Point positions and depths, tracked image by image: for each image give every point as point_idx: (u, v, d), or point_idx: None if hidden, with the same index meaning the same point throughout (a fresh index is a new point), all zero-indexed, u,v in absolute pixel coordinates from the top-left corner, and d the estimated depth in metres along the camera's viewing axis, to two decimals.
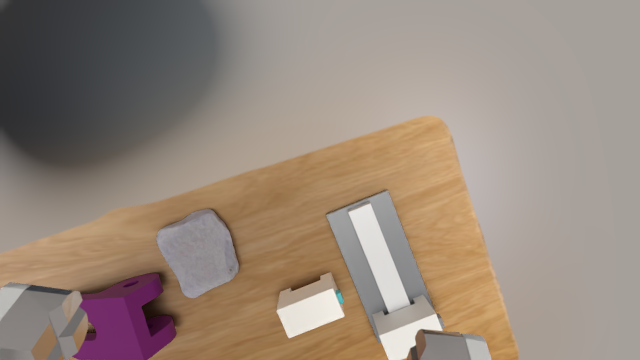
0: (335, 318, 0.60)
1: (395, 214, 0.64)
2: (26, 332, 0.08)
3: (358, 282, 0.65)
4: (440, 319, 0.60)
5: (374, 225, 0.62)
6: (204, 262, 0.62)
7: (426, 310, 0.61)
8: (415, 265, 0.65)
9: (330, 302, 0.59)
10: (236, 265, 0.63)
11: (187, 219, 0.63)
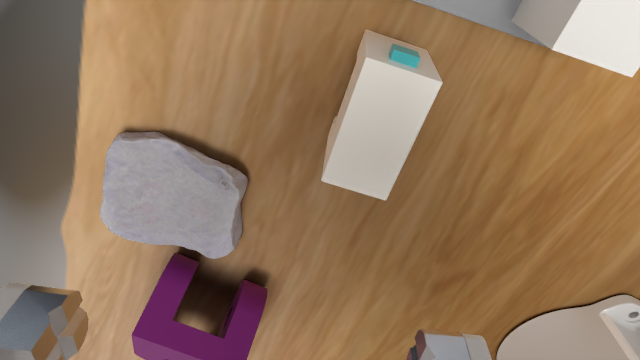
0: (429, 102, 0.24)
1: None
2: (26, 332, 0.08)
3: None
4: None
5: None
6: (184, 206, 0.34)
7: None
8: None
9: (390, 85, 0.24)
10: (222, 171, 0.33)
11: None
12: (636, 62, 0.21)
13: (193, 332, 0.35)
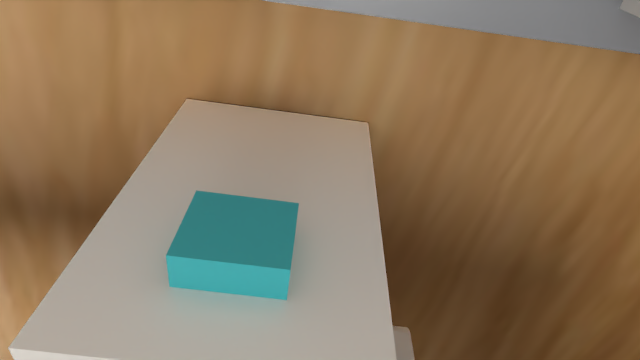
0: None
1: None
2: None
3: None
4: None
5: None
6: None
7: None
8: None
9: None
10: None
11: None
12: None
13: None
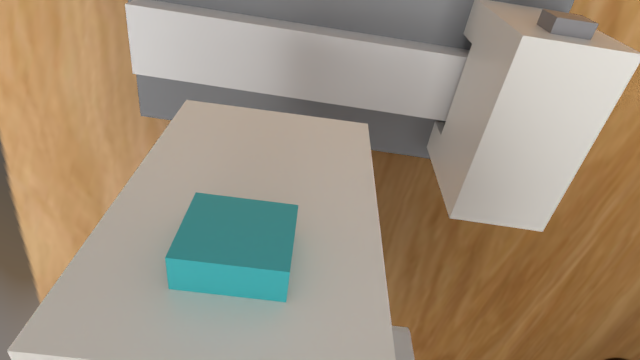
0: None
1: None
2: None
3: None
4: (560, 23, 0.16)
5: (194, 28, 0.21)
6: None
7: (498, 43, 0.17)
8: None
9: None
10: None
11: None
12: (543, 219, 0.20)
13: None
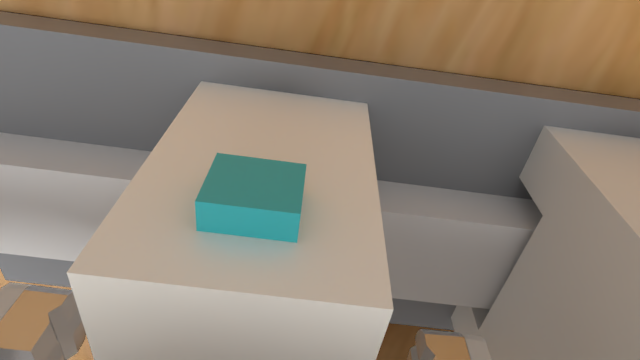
0: (362, 359, 0.07)
1: (43, 40, 0.11)
2: (26, 332, 0.08)
3: None
4: None
5: (46, 189, 0.12)
6: None
7: (628, 285, 0.08)
8: (376, 84, 0.11)
9: (204, 334, 0.06)
10: None
11: None
12: None
13: None
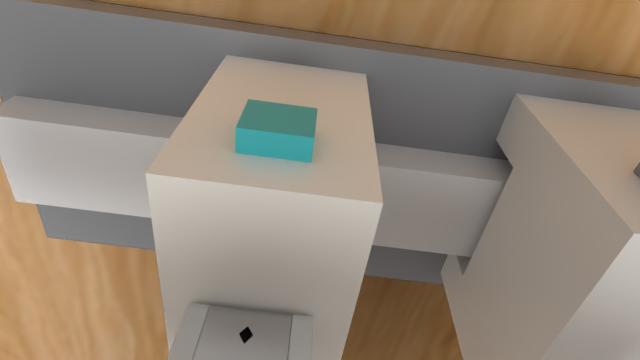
0: (360, 250, 0.09)
1: (96, 19, 0.13)
2: (226, 354, 0.09)
3: None
4: None
5: (95, 146, 0.14)
6: None
7: (572, 207, 0.10)
8: (373, 57, 0.13)
9: (242, 227, 0.09)
10: None
11: None
12: None
13: None
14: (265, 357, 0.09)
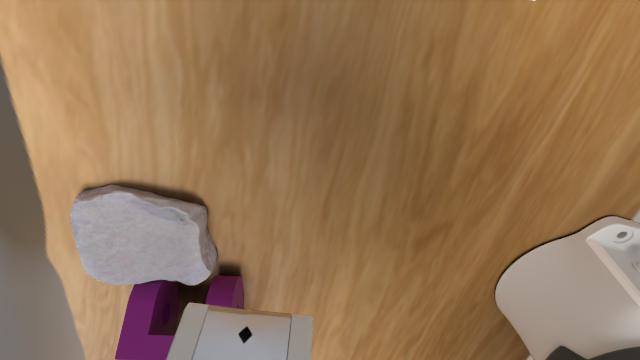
0: None
1: None
2: (226, 354, 0.09)
3: None
4: None
5: None
6: (152, 247, 0.37)
7: None
8: None
9: None
10: (176, 209, 0.35)
11: None
12: None
13: (170, 339, 0.37)
14: (264, 357, 0.09)
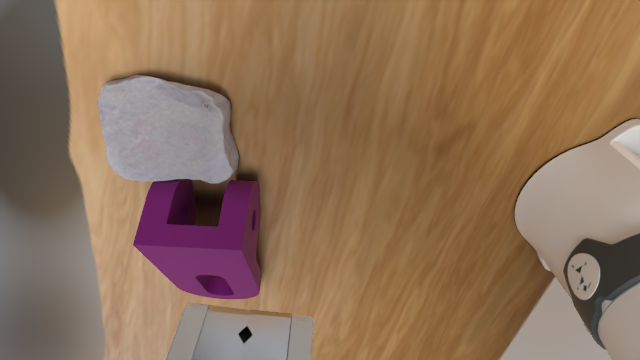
0: None
1: None
2: (226, 353, 0.09)
3: None
4: None
5: None
6: (176, 136, 0.37)
7: None
8: None
9: None
10: (201, 93, 0.36)
11: None
12: None
13: (188, 228, 0.37)
14: (264, 357, 0.09)
